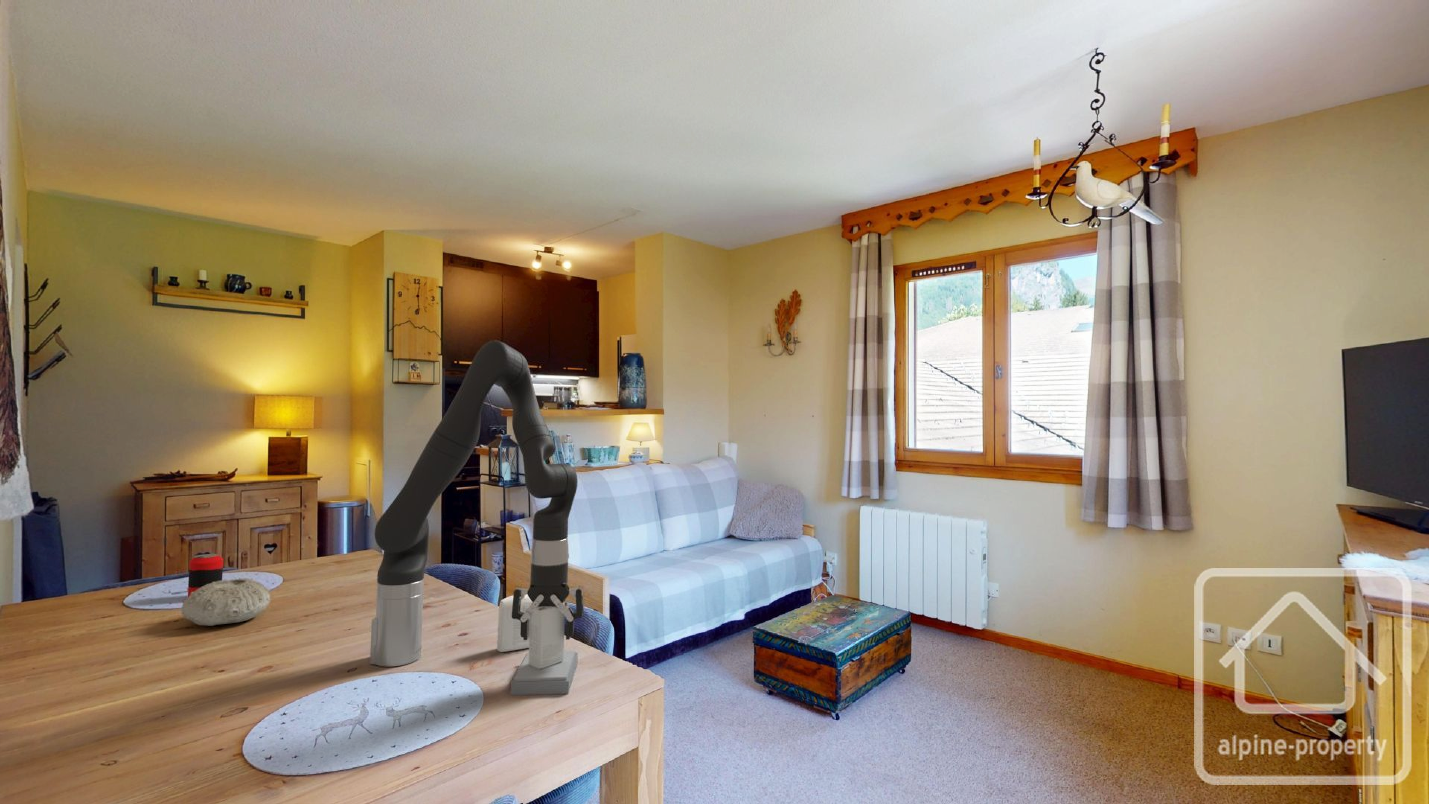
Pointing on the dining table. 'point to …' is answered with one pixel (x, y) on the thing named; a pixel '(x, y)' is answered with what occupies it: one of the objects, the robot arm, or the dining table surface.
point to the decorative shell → (226, 602)
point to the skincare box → (546, 636)
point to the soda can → (204, 571)
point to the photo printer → (511, 626)
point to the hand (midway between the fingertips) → (547, 638)
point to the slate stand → (545, 677)
